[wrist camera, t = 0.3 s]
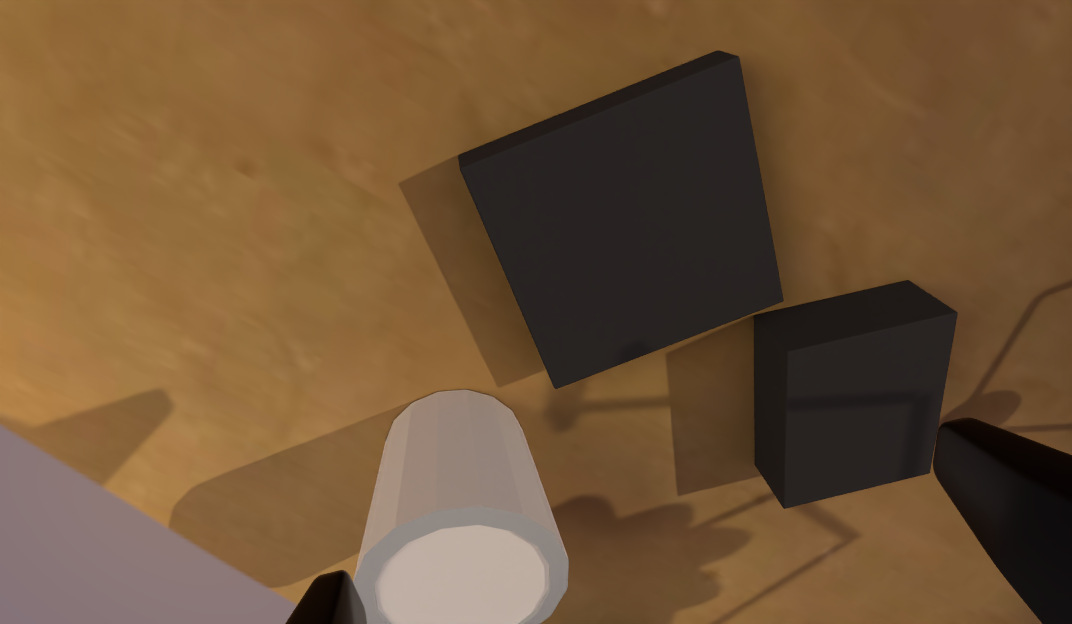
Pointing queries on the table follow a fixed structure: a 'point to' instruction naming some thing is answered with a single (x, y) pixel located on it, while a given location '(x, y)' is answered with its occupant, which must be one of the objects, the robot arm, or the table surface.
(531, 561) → the shot glass
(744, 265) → the base pad
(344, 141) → the table surface
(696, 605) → the table surface
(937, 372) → the black pad
